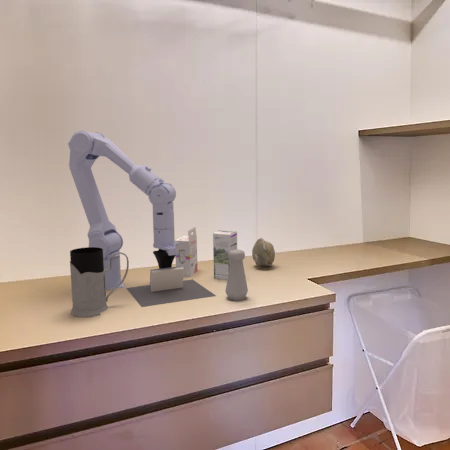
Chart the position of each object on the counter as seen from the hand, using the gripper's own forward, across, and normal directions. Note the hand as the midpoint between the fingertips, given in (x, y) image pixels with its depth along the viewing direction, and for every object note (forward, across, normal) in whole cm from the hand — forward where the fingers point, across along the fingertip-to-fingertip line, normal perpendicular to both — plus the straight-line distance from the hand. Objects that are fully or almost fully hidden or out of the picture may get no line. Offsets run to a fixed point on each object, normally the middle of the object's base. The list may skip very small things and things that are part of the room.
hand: (165, 276), depth 125 cm
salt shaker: (+4, -17, -14) cm, 22 cm away
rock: (+4, +10, -37) cm, 39 cm away
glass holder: (+4, -9, +19) cm, 21 cm away
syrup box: (+4, +3, -20) cm, 21 cm away
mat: (+4, -4, 0) cm, 5 cm away
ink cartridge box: (+4, +13, -11) cm, 18 cm away
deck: (+3, -1, 0) cm, 3 cm away
